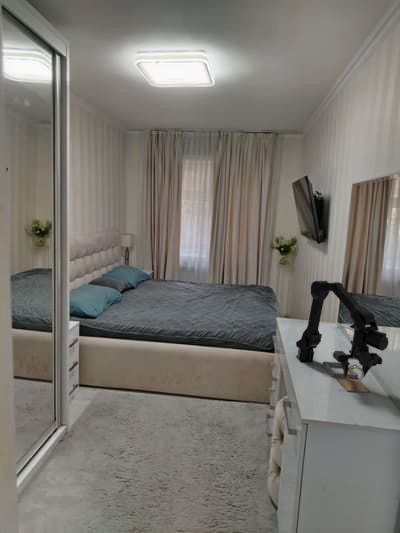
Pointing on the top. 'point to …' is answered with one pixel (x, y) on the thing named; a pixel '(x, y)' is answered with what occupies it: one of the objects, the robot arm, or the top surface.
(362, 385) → the pad
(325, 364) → the bin
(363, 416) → the top surface
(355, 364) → the ring
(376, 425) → the top surface
